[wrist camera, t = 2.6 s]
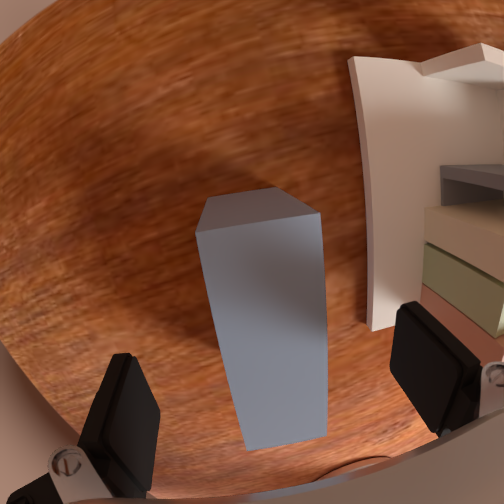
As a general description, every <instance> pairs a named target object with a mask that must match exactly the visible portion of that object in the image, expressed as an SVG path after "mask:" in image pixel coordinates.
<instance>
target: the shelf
mask: <svg viewBox="0 0 504 504" xmlns="http://www.w3.org/2000/svg"><path fill="white" fill-rule="evenodd" d="M347 62H348V67H349V72H350V78H351V83H352V89H353V95H354V102H355V108H356V115H357V122H358V130H359V138H360V147H361V156H362V167H363V178H364V191H365V206H366V226H367V269H368V281H367V324H366V325H367V326H368V327H369V329H370V330H371V331H376V330H380V329H383V328H387V327H391V326H394V325H395V321H396V312H397V310H398V309H400V306H401V305H402V304H404V303H408V302H411V301H417V302H418V303H420V304H421V305H422V306H423V307H424V308H425V309H426V310H427V311H428V312H430V313H431V314H432V315H433V316H434V317H435V318H436V319H437V320H438V321H439V322H441V323H442V324H443V325H444V326H445V327H446V328H447V329H448V330H449V331H450V332H451V333H452V334H453V335H454V336H455V337H457V338H458V339H459V340H460V341H461V342H462V343H463V344H464V345H465V346H466V347H467V348H468V349H469V350H470V351H471V352H472V353H473V354H474V355H475V356H476V357H477V358H478V359H479V360H480V361H481V363H480V365H481V366H482V367H483V368H484V366H485V365H487V364H488V363H490V362H494V361H500V362H504V51H502V50H499V49H497V48H494V47H491V46H489V45H486V44H483V43H478V44H475V45H472V46H468V47H465V48H462V49H459V50H456V51H453V52H450V53H447V54H444V55H441V56H438V57H435V58H432V59H429V60H426V61H424V62H421V63H419V62H412V61H404V60H395V59H385V58H374V57H358V56H353V57H352V58H350V59H349V60H347Z"/></svg>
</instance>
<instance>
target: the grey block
mask: <svg viewBox="0 0 504 504" xmlns="http://www.w3.org/2000/svg"><path fill="white" fill-rule="evenodd" d="M195 235H196V240H197V245H198V250H199V255H200V260H201V265H202V270H203V275H204V279H205V284H206V289H207V294H208V298H209V303H210V307H211V312H212V316H213V321H214V325H215V329H216V334H217V338H218V342H219V346H220V350H221V355H222V359H223V363H224V367H225V371H226V375H227V379H228V383H229V387H230V391H231V394H232V398H233V402H234V406H235V409H236V413H237V417H238V421H239V424H240V428H241V431H242V435H243V438H244V442H245V446H246V449H247V451H251V450H258V449H264V448H270V447H276V446H282V445H287V444H292V443H297V442H302V441H307V440H311V439H315V438H320V437H324V436H327V406H328V348H327V311H326V289H325V270H324V255H323V241H322V228H321V216H320V213H319V212H318V211H316V210H314V209H313V208H311V207H310V206H308V205H306V204H305V203H303V202H301V201H300V200H298V199H296V198H295V197H293V196H291V195H289V194H288V193H286V192H284V191H283V190H281V189H279V188H278V187H273V188H266V189H259V190H252V191H245V192H239V193H232V194H226V195H220V196H214V197H208V198H207V201H206V204H205V206H204V209H203V212H202V215H201V217H200V220H199V223H198V226H197V229H196V231H195Z"/></svg>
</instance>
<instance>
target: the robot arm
mask: <svg viewBox="0 0 504 504" xmlns="http://www.w3.org/2000/svg"><path fill="white" fill-rule="evenodd" d="M480 363H481V361H480V360H479V359H478V358H477V357H476V356H475V355H474V354H473V353H472V352H471V351H470V350H469V349H468V348H467V347H466V346H465V345H464V344H463V343H462V342H461V341H460V340H459V339H458V338H457V337H455V336H454V335H453V334H452V333H451V332H450V331H449V330H448V329H447V328H446V327H445V326H444V325H443V324H442V323H441V322H439V321H438V320H437V319H436V318H435V317H434V316H433V315H432V314H431V313H430V312H428V311H427V310H426V309H425V308H424V307H423V306H422V305H421V304H420V303H418V302H417V301H411V302H408V303H404V304H402V305H401V306H400V309H398V310H397V312H396V321H395V329H394V337H393V345H392V352H391V359H390V371H391V373H392V375H393V376H394V378H395V379H396V381H397V382H398V383H399V385H400V386H401V388H402V389H403V391H404V392H405V394H406V395H407V397H408V398H409V400H410V401H411V403H412V404H413V406H414V407H415V409H416V410H417V412H418V413H419V415H420V416H421V418H422V419H423V421H424V422H425V424H426V425H427V427H428V428H429V430H430V431H431V432H432V433H436V434H437V436H438V437H439V438H438V439H436V440H433V441H431V442H429V443H427V444H425V445H422V446H420V447H418V448H416V449H413V450H411V451H408V452H406V453H404V454H401V455H399V456H396V457H393V458H388V457H378V458H371V459H366V460H362V461H358V462H355V463H352V464H349V465H346V466H343V467H341V468H339V469H337V470H334V471H332V472H330V473H328V474H326V475H324V476H323V477H321V478H320V479H318V480H316V481H315V482H311V483H307V484H302V485H298V486H293V487H288V488H282V489H277V490H271V491H264V492H258V493H250V494H242V495H233V496H223V497H209V498H186V499H146V491H150V489H151V484H152V475H153V467H154V459H155V451H156V444H157V437H158V430H159V423H160V409H159V407H158V405H157V402H156V400H155V398H154V396H153V394H152V392H151V390H150V387H149V385H148V383H147V381H146V379H145V376H144V374H143V372H142V369H141V367H140V365H139V362H138V360H137V358H136V357H135V356H133V357H132V355H131V354H130V353H120V354H114V355H113V356H112V359H111V361H110V363H109V366H108V368H107V371H106V373H105V376H104V378H103V381H102V383H101V386H100V388H99V391H98V392H97V393H96V395H95V398H94V400H93V403H92V406H91V408H90V411H89V414H88V416H87V419H86V422H85V425H84V427H83V430H82V433H81V436H80V439H79V442H78V445H77V446H73V445H66V446H63V447H60V448H58V449H57V450H55V451H54V453H52V455H51V456H50V458H49V460H48V470H49V472H48V473H47V474H45V475H43V476H41V477H40V478H38V479H36V480H34V481H33V482H31V483H29V484H27V485H25V486H24V487H22V488H20V489H18V490H16V491H15V492H13V493H12V494H11V495H10V497H9V498H8V500H7V503H6V504H504V362H500V361H494V362H490V363H488V364H487V365H485V366H484V368H483V367H482V366H481V365H480Z"/></svg>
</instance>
